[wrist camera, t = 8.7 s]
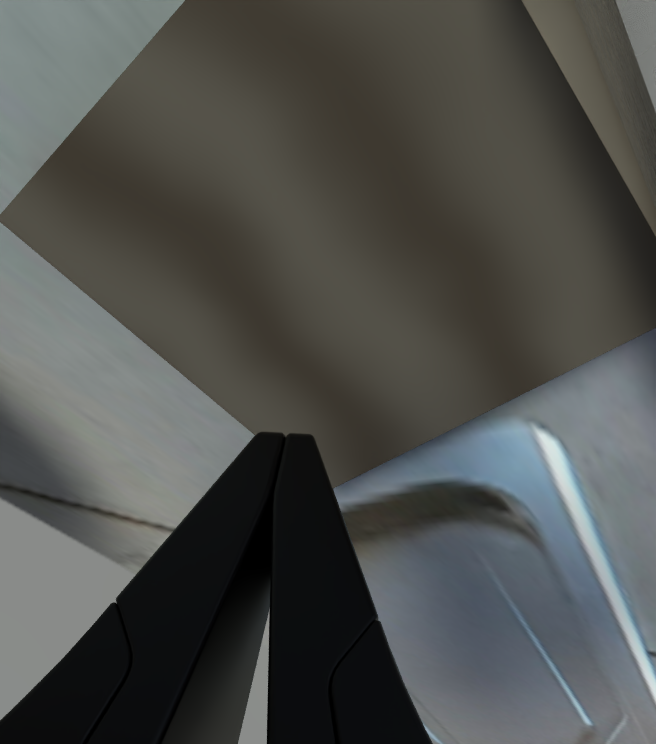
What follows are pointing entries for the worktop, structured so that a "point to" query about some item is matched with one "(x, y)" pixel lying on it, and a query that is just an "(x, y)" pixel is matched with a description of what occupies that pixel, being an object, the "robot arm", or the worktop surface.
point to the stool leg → (628, 69)
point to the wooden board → (357, 212)
